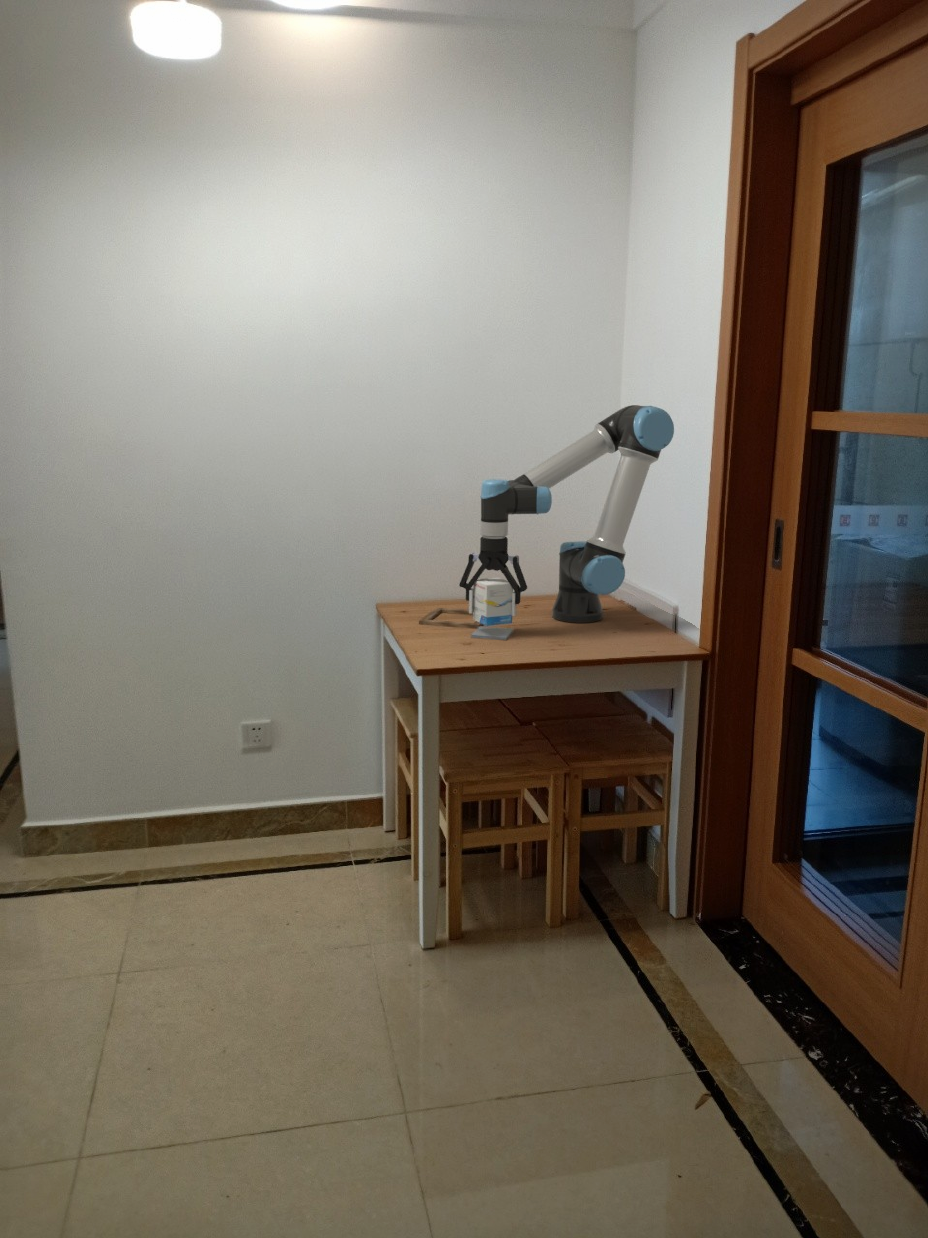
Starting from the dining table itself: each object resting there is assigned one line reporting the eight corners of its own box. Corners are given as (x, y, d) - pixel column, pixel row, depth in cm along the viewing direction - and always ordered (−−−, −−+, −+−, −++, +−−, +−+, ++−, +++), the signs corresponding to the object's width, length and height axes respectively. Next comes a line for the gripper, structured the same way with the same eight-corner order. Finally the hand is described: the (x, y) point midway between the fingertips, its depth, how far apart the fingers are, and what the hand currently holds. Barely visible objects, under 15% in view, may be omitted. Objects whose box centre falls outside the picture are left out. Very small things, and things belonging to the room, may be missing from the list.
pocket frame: (493, 614, 308) (493, 611, 308) (478, 628, 291) (478, 625, 291) (436, 610, 312) (436, 607, 312) (418, 624, 296) (418, 620, 295)
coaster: (514, 631, 288) (514, 628, 288) (506, 640, 278) (506, 637, 278) (479, 629, 290) (479, 626, 290) (470, 637, 281) (470, 634, 281)
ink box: (513, 623, 281) (514, 582, 279) (485, 626, 278) (486, 584, 275) (499, 617, 289) (499, 576, 286) (472, 619, 285) (472, 578, 283)
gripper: (539, 536, 278) (537, 613, 283) (456, 532, 284) (455, 607, 290) (534, 540, 271) (531, 619, 276) (448, 536, 277) (447, 613, 283)
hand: (492, 613), depth 283 cm, fingers closed on ink box, 11 cm apart
